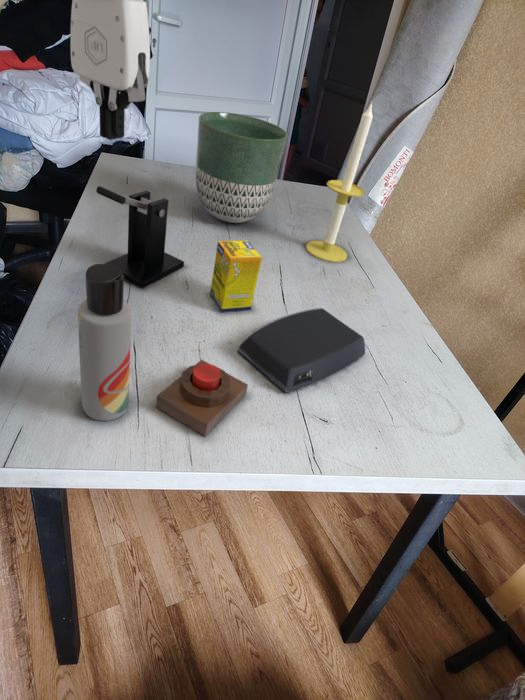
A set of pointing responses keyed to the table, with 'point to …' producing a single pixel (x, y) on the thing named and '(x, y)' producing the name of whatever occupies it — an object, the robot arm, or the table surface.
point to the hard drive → (302, 348)
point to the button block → (201, 400)
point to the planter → (237, 164)
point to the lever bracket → (147, 245)
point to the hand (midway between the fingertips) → (112, 136)
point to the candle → (342, 197)
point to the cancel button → (206, 377)
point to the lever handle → (124, 199)
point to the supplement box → (235, 275)
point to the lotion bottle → (104, 344)
